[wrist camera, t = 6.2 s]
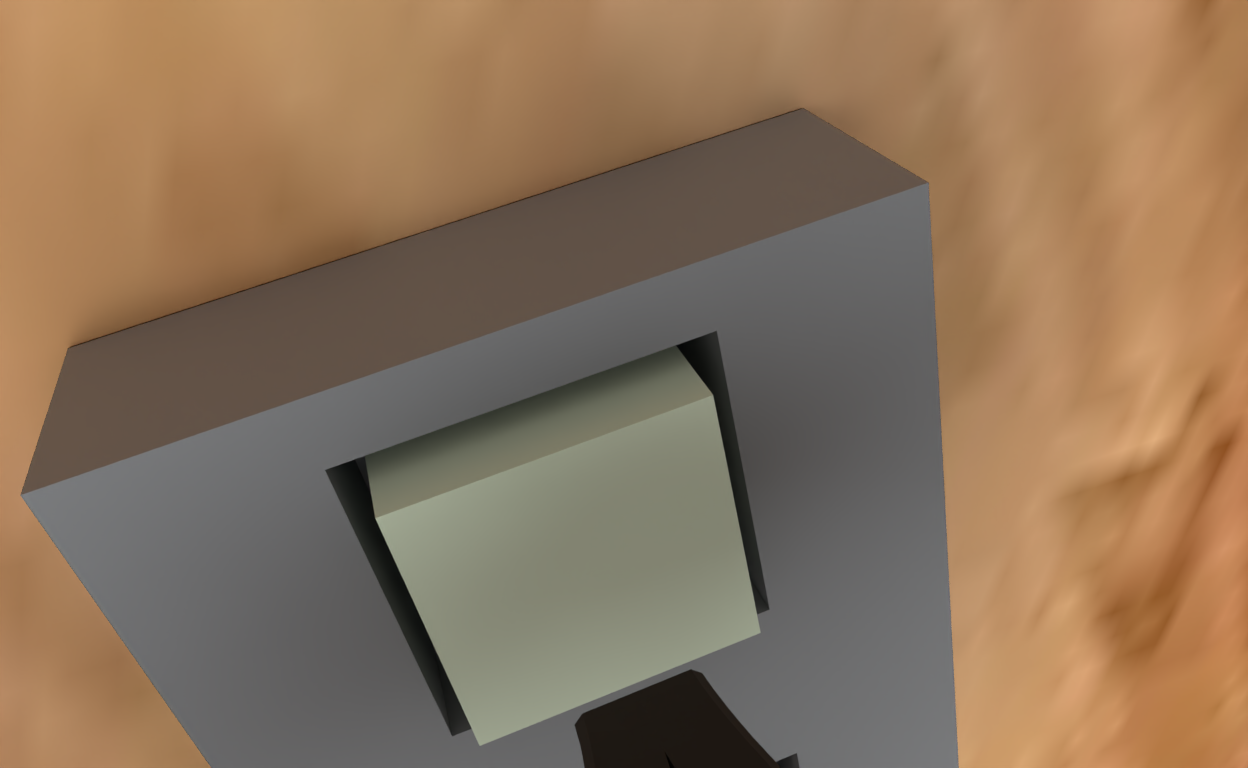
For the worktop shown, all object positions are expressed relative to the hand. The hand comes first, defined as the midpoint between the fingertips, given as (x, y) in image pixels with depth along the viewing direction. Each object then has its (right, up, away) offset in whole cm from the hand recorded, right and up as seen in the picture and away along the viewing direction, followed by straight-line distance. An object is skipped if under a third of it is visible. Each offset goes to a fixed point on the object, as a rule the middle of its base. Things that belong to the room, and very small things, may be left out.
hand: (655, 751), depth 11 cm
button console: (0, -3, +10) cm, 11 cm away
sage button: (-2, +3, +5) cm, 6 cm away
